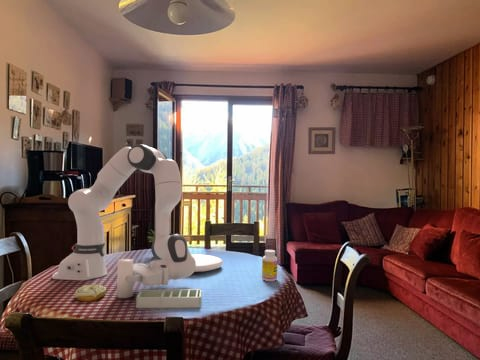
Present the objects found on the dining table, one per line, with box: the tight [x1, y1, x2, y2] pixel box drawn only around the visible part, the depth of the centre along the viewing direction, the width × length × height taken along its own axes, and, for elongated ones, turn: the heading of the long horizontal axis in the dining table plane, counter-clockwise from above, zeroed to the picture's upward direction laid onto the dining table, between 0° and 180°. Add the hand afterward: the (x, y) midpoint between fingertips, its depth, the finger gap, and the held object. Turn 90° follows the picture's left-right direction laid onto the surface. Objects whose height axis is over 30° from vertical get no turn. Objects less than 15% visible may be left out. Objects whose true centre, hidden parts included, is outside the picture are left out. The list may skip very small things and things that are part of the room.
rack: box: [135, 288, 203, 309], centre depth 131 cm, size 22×9×4 cm, turn 94°
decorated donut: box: [74, 284, 107, 303], centre depth 136 cm, size 10×11×4 cm
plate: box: [190, 253, 223, 273], centre depth 181 cm, size 28×6×27 cm
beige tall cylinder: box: [116, 258, 134, 299], centre depth 136 cm, size 6×6×13 cm
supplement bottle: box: [261, 249, 278, 282], centre depth 163 cm, size 7×7×13 cm
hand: (122, 276), depth 136 cm, fingers closed on beige tall cylinder, 6 cm apart
